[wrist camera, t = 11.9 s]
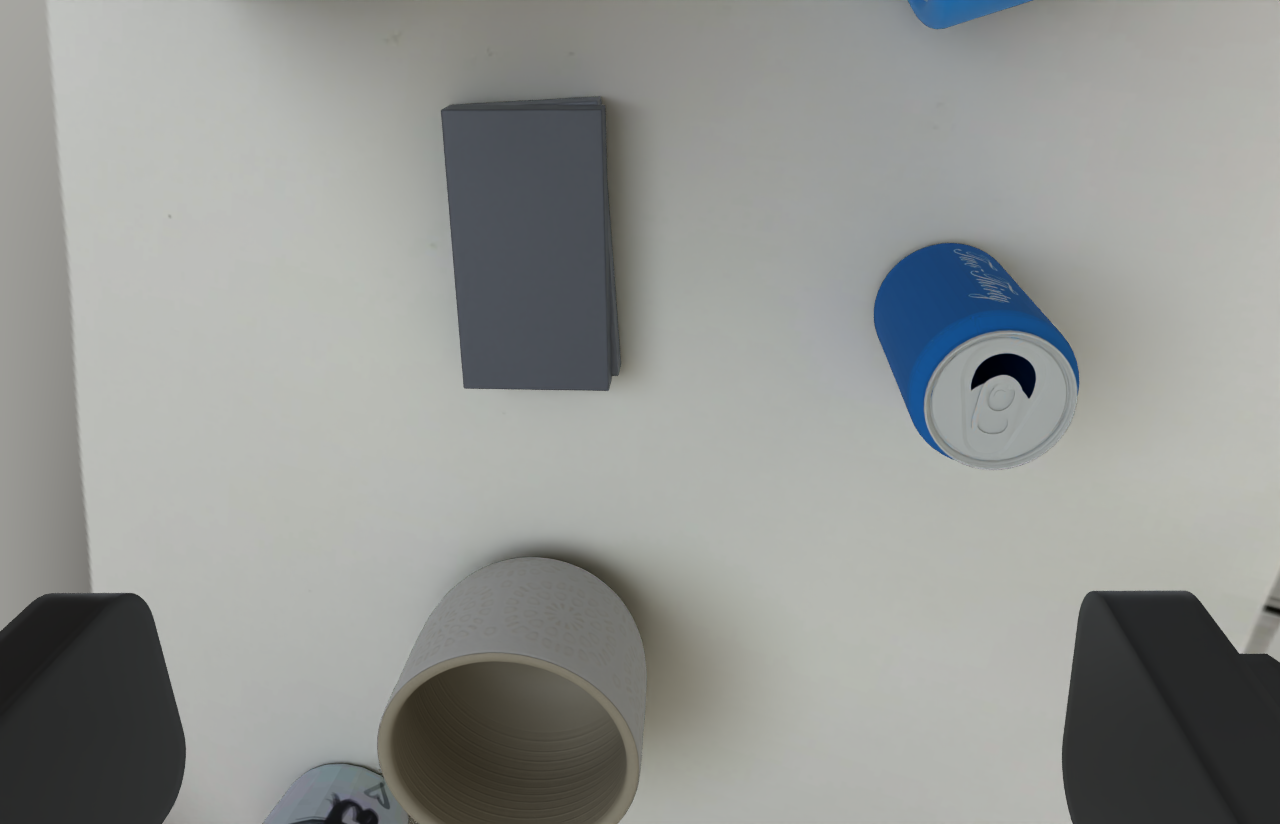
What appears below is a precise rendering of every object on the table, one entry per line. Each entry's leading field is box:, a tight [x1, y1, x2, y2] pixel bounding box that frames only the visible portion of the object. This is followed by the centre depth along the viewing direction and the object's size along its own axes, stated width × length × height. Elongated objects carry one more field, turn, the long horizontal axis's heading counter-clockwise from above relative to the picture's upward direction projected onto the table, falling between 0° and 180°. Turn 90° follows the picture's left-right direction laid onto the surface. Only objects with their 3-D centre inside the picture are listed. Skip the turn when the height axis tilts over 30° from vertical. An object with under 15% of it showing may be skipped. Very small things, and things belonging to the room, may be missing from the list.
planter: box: [377, 557, 647, 824], centre depth 55 cm, size 12×12×11 cm
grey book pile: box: [441, 96, 621, 391], centre depth 50 cm, size 13×8×3 cm, turn 4°
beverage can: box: [874, 243, 1079, 470], centre depth 46 cm, size 6×6×12 cm
